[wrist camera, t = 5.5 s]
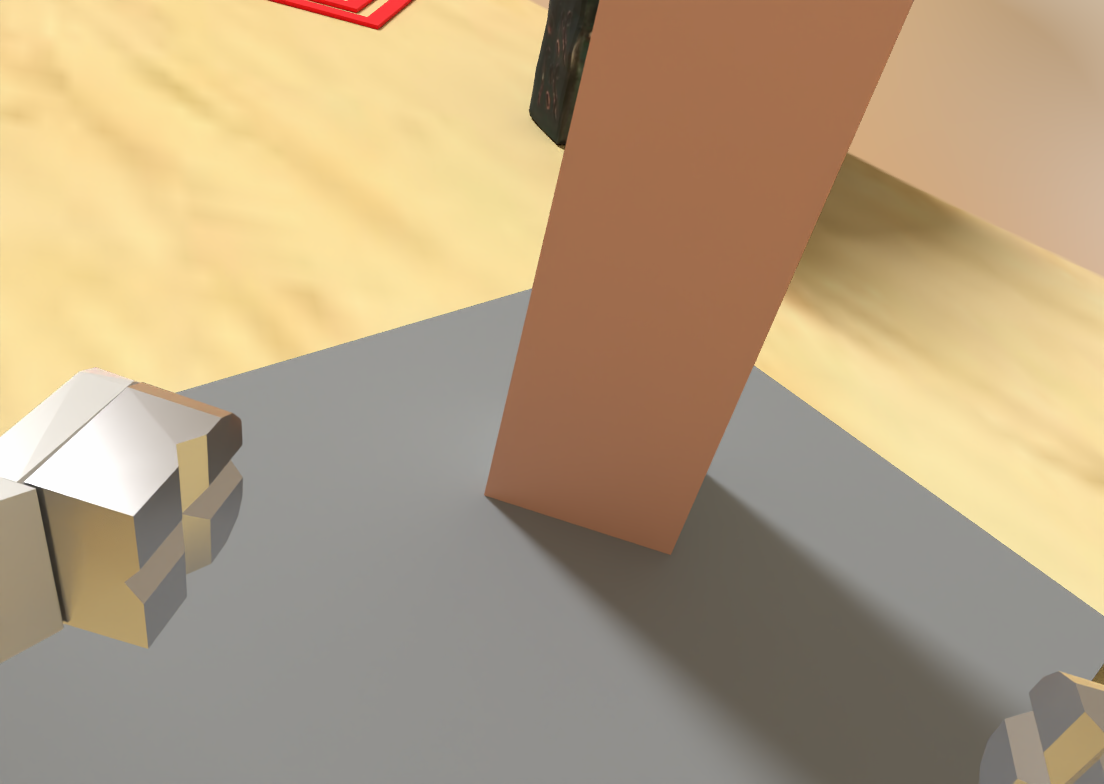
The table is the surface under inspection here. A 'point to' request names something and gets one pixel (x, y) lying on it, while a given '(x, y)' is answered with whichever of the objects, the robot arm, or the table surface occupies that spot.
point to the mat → (547, 608)
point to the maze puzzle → (354, 4)
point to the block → (676, 244)
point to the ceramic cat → (561, 65)
